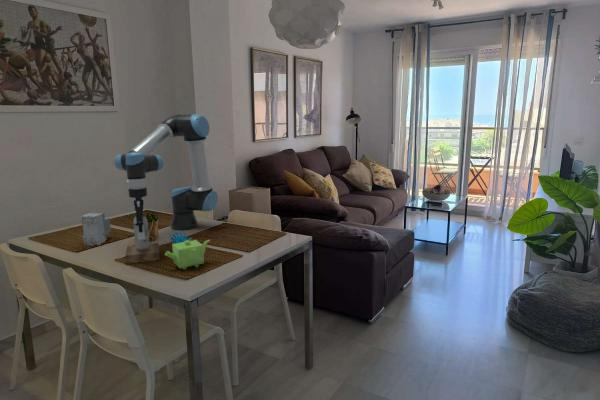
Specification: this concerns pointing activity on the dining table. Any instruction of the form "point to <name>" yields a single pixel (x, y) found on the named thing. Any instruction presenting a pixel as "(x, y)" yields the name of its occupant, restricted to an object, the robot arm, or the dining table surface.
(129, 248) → the stand
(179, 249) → the kettle
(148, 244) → the energy drink can
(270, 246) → the dining table surface
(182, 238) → the gear
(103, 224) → the circuit breaker
